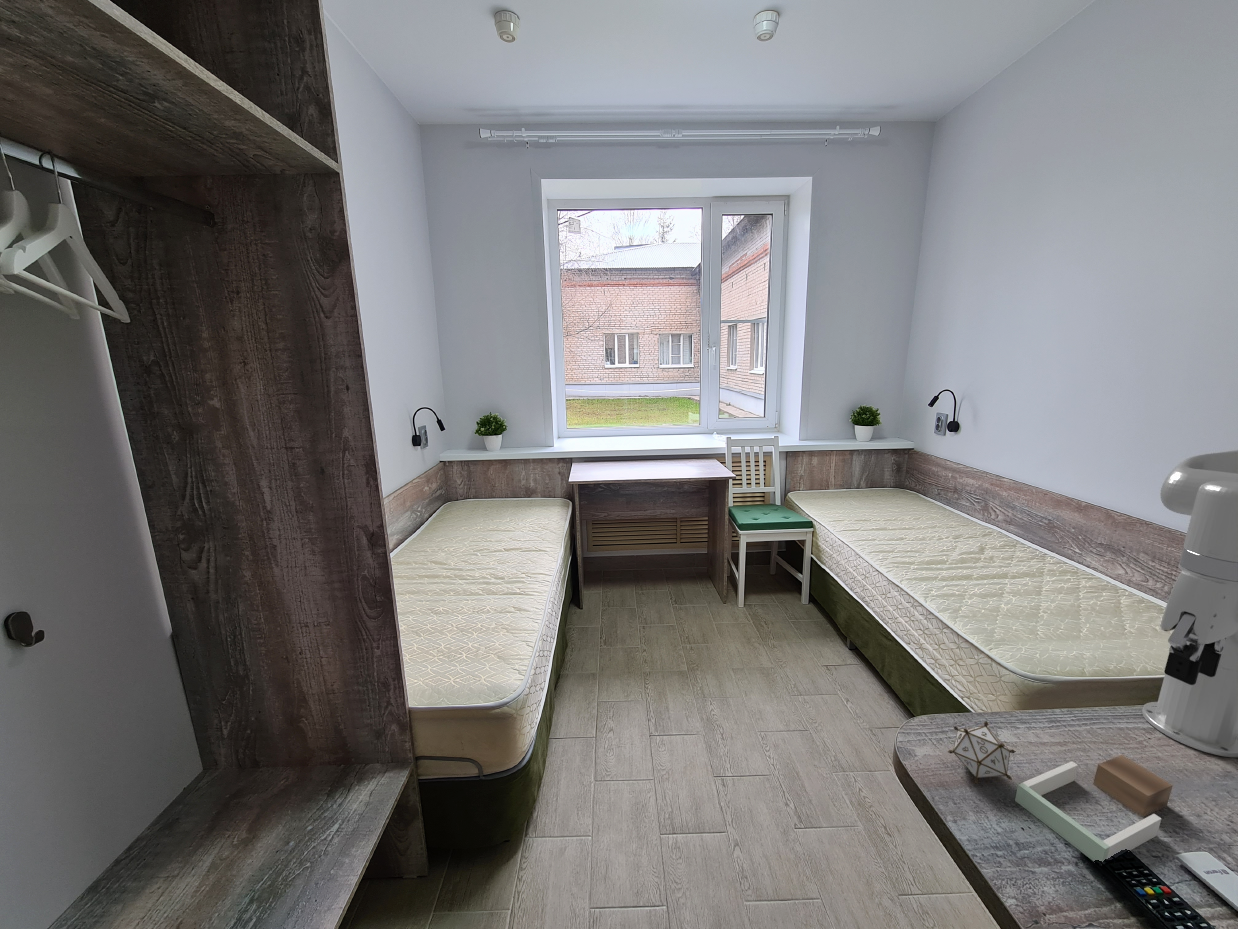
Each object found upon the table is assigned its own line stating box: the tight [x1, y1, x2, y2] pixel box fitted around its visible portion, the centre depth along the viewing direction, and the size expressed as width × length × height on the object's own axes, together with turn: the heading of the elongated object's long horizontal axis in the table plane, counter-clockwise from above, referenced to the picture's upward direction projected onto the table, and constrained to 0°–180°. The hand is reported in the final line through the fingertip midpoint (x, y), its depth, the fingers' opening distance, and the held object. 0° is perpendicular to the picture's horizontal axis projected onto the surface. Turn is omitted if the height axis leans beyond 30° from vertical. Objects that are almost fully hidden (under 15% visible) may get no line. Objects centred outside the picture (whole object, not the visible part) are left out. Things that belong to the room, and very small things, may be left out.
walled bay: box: [1014, 760, 1162, 862], centre depth 71 cm, size 13×11×3 cm
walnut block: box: [1092, 754, 1174, 818], centre depth 75 cm, size 6×6×4 cm
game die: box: [947, 720, 1016, 785], centre depth 79 cm, size 9×8×10 cm
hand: (1189, 674), depth 74 cm, fingers open, 4 cm apart
